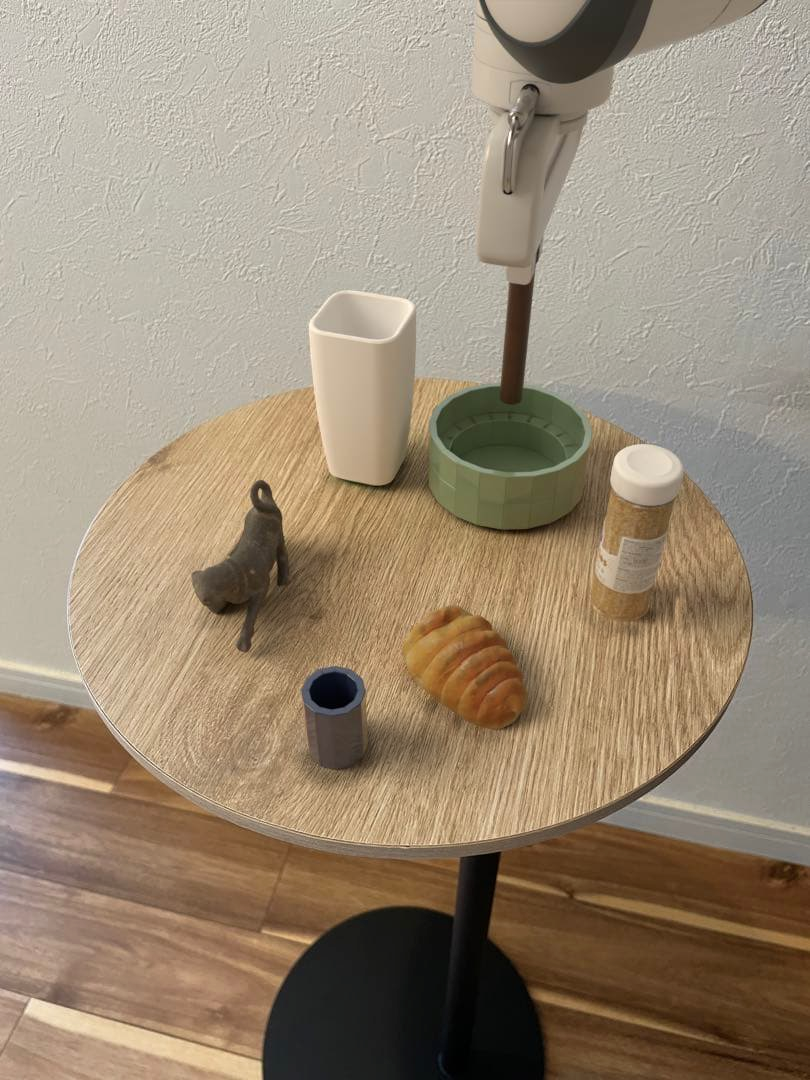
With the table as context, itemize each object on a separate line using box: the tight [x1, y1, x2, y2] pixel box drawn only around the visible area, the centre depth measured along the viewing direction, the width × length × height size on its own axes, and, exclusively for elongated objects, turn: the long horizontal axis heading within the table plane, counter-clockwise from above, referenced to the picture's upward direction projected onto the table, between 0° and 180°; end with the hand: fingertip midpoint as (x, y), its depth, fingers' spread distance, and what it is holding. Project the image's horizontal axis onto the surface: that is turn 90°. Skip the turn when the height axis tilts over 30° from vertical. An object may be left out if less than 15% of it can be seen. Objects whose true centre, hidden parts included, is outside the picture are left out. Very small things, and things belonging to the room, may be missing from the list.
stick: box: [500, 252, 537, 405], centre depth 73 cm, size 2×2×14 cm
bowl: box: [427, 382, 594, 530], centre depth 81 cm, size 13×13×6 cm
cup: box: [308, 289, 417, 487], centre depth 80 cm, size 7×7×15 cm
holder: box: [300, 665, 369, 770], centre depth 60 cm, size 4×4×6 cm
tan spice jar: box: [588, 443, 684, 623], centre depth 68 cm, size 5×5×14 cm
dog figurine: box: [191, 479, 290, 653], centre depth 70 cm, size 12×6×7 cm, turn 166°
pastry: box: [401, 604, 529, 730], centre depth 65 cm, size 9×7×4 cm
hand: (523, 269), depth 70 cm, fingers closed on stick, 2 cm apart
